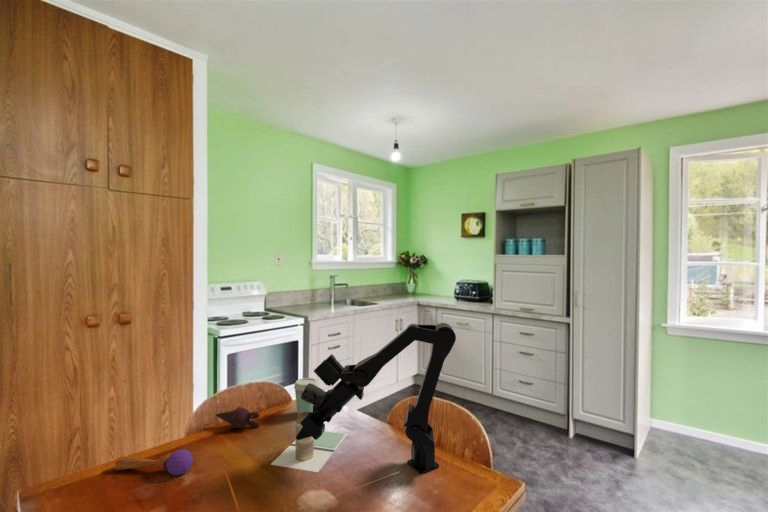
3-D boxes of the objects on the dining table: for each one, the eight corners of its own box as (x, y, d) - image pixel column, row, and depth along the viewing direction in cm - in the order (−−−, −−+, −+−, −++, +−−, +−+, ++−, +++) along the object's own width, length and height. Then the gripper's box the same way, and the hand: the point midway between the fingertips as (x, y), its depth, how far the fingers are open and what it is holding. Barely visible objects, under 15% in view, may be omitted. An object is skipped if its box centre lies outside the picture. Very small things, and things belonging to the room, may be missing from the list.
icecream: (209, 413, 119) (254, 419, 118) (221, 398, 126) (264, 404, 125) (210, 431, 121) (254, 437, 119) (222, 416, 128) (264, 421, 127)
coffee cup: (322, 413, 135) (323, 380, 135) (306, 421, 127) (306, 386, 128) (305, 407, 139) (306, 376, 139) (288, 415, 132) (289, 382, 132)
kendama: (129, 447, 102) (197, 446, 100) (127, 471, 101) (196, 470, 99) (111, 454, 96) (184, 453, 94) (109, 480, 95) (182, 478, 93)
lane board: (317, 473, 97) (317, 471, 97) (270, 465, 100) (270, 463, 100) (347, 435, 118) (347, 433, 118) (307, 429, 122) (307, 428, 122)
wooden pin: (316, 457, 104) (316, 413, 104) (298, 462, 101) (299, 417, 101) (309, 449, 108) (310, 407, 108) (293, 454, 105) (293, 410, 105)
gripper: (327, 366, 114) (292, 400, 115) (308, 387, 95) (267, 427, 96) (352, 393, 113) (316, 427, 114) (338, 419, 94) (296, 460, 95)
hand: (300, 434), depth 105 cm, fingers closed on wooden pin, 5 cm apart
